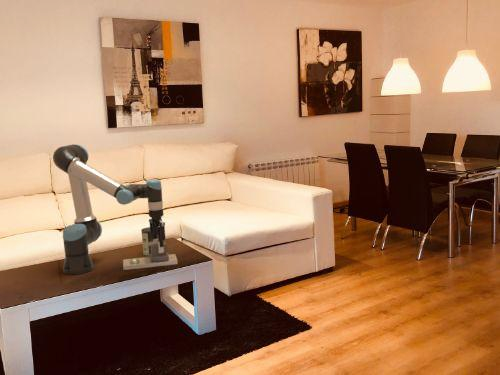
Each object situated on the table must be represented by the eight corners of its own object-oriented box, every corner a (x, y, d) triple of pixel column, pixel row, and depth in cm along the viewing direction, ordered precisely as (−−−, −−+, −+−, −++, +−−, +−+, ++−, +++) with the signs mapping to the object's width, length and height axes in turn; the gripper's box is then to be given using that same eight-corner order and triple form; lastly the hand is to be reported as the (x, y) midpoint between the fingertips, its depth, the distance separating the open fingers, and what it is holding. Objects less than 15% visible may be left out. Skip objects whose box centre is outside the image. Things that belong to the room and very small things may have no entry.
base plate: (123, 270, 264) (122, 264, 263) (123, 263, 275) (123, 257, 275) (177, 264, 270) (177, 258, 270) (175, 257, 282) (175, 251, 281)
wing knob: (151, 262, 267) (150, 247, 266) (149, 257, 277) (147, 243, 276) (170, 260, 270) (169, 245, 269) (167, 254, 280) (166, 240, 278)
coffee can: (163, 250, 296) (162, 226, 294) (157, 255, 287) (155, 231, 284) (147, 250, 299) (145, 226, 296) (140, 255, 289) (138, 231, 286)
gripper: (170, 210, 265) (173, 253, 269) (154, 205, 278) (157, 246, 282) (157, 212, 260) (160, 256, 264) (141, 207, 273) (145, 249, 277)
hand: (158, 251), depth 273 cm, fingers closed on wing knob, 4 cm apart
